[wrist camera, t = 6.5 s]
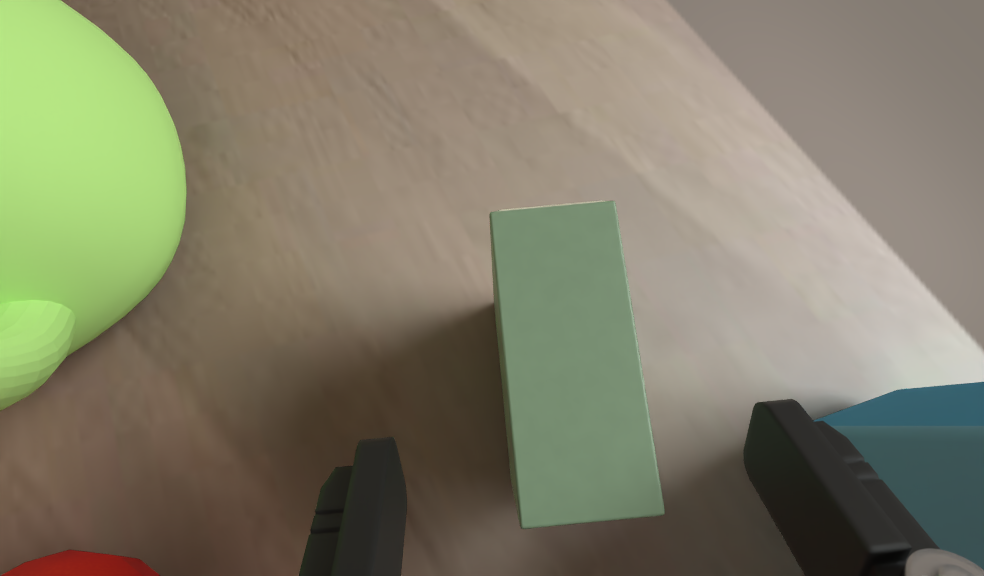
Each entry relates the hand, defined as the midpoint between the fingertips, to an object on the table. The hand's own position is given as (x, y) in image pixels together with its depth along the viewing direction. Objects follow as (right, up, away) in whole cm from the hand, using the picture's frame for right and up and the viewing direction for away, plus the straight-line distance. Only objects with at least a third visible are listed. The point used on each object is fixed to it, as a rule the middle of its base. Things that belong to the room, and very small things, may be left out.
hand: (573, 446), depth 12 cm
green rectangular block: (0, 0, +9) cm, 9 cm away
